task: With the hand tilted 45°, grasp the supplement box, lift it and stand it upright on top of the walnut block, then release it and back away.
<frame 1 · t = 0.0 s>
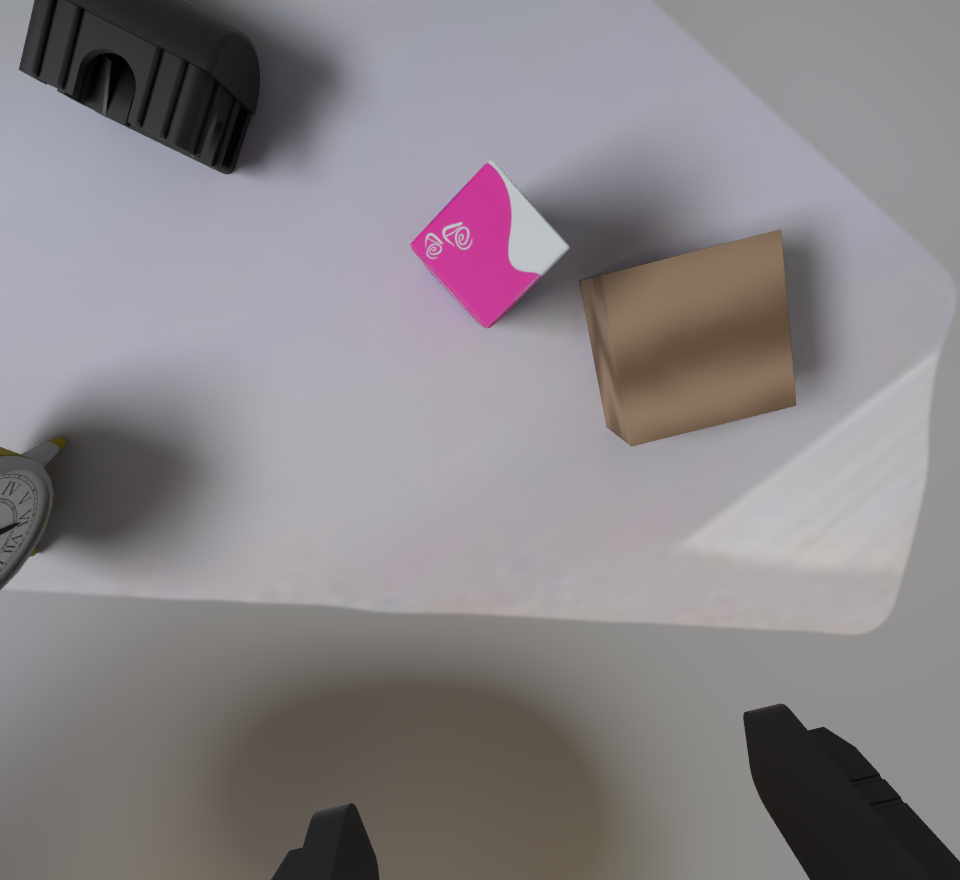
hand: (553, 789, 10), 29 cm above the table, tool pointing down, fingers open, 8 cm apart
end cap: (182, 90, 32), on the table
alarm clock: (26, 486, 38), on the table
walnut block: (664, 338, 38), on the table
supplement box: (481, 267, 36), on the table
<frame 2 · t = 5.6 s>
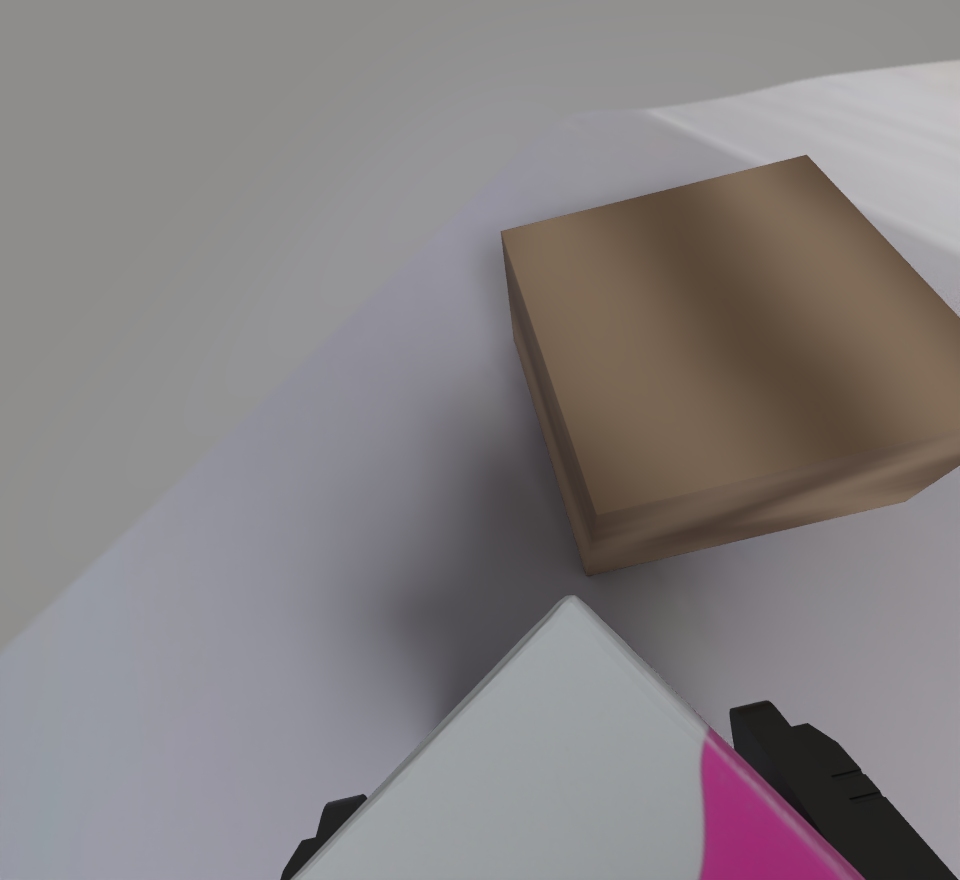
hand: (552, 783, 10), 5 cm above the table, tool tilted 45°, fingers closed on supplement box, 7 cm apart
walnut block: (679, 411, 20), on the table
supplement box: (571, 825, 14), on the table, touching gripper
when the fingers open (12 cm above the table, at t = 10.8 s): supplement box drops 2 cm, resting on walnut block.
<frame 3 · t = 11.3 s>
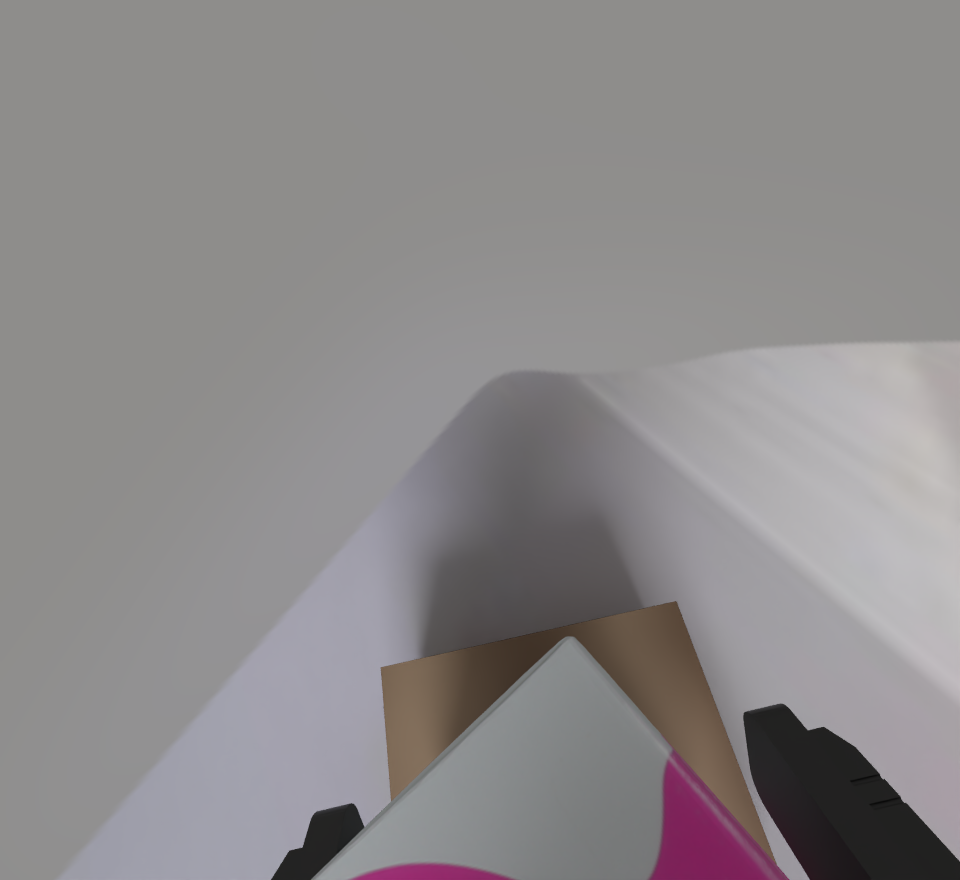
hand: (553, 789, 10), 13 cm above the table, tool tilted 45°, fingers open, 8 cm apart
walnut block: (567, 798, 21), on the table, touching supplement box
supplement box: (565, 824, 16), point 5 cm above the table, touching gripper, walnut block
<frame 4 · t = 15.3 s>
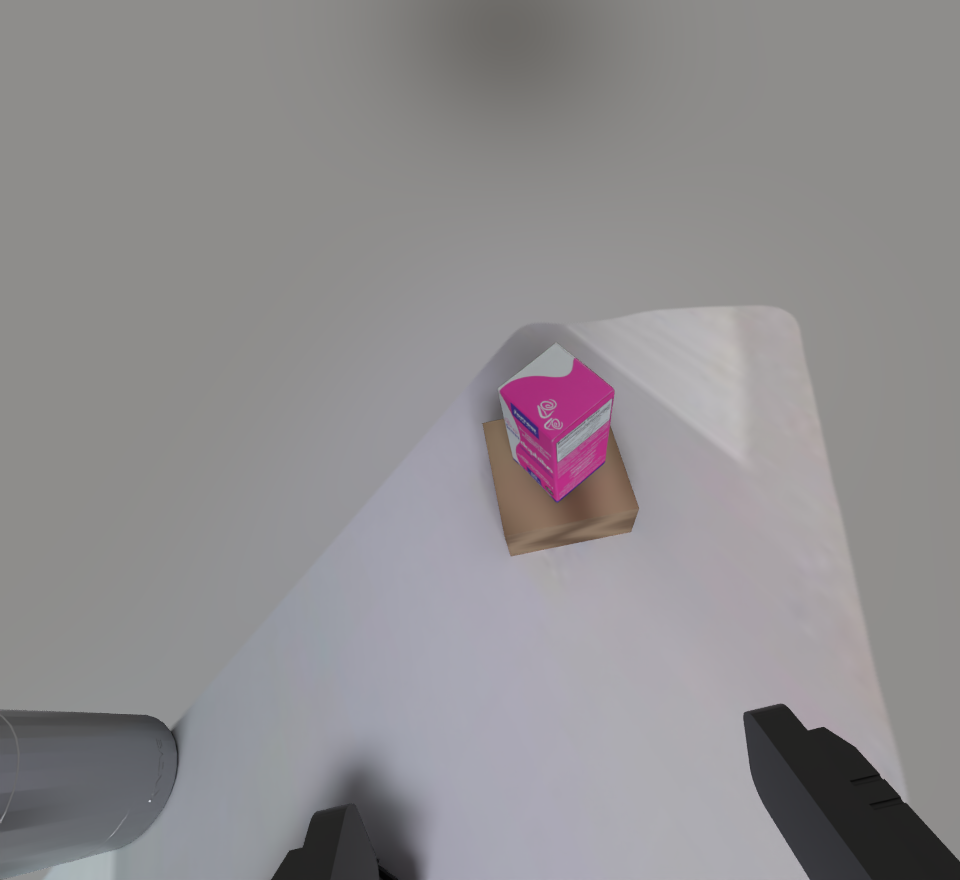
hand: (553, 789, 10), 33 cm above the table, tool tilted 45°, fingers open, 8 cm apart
walnut block: (556, 490, 49), on the table
supplement box: (558, 463, 44), point 5 cm above the table
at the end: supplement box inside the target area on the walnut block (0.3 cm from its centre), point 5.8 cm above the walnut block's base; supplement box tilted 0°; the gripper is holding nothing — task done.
